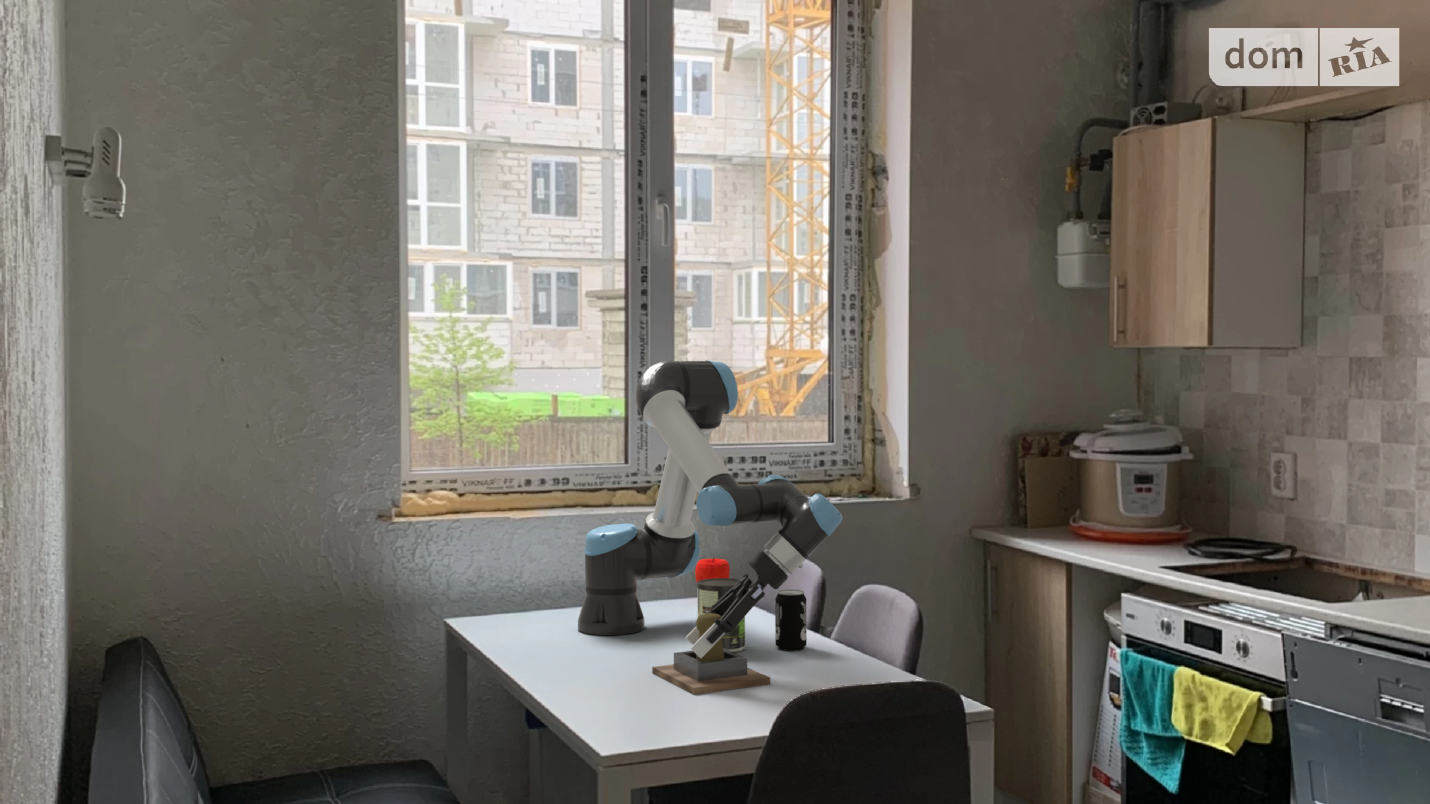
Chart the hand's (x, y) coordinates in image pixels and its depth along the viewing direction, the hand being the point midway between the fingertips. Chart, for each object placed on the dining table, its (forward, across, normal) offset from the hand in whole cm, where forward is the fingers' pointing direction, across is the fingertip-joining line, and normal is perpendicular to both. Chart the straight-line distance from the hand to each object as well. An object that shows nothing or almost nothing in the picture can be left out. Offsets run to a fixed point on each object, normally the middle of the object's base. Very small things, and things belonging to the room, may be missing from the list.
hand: (693, 647), depth 232 cm
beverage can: (-12, +24, -21) cm, 34 cm away
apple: (-5, +81, -14) cm, 82 cm away
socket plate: (+2, 0, -6) cm, 7 cm away
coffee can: (-2, +26, -10) cm, 28 cm away
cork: (+1, 0, -6) cm, 6 cm away
